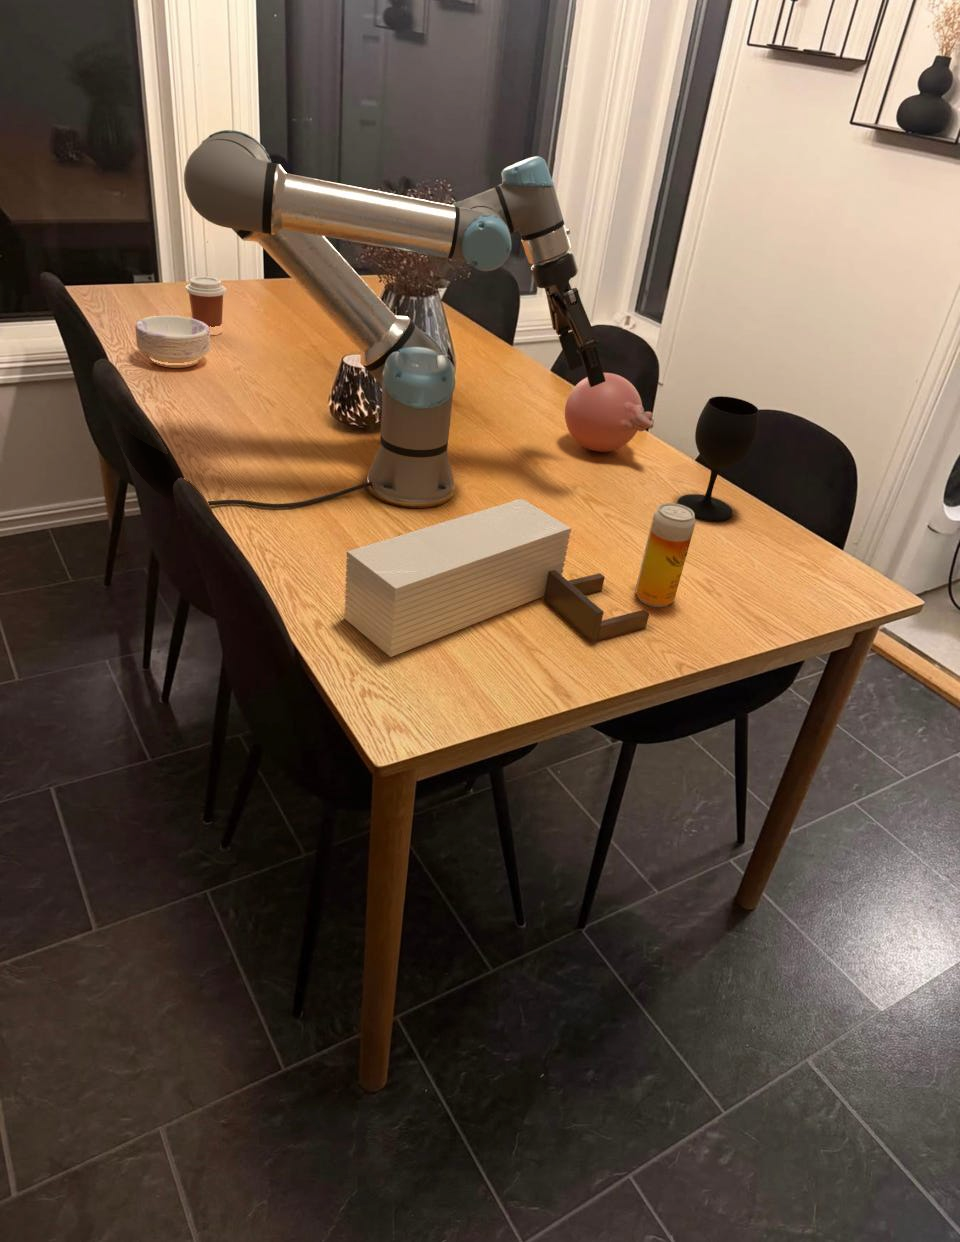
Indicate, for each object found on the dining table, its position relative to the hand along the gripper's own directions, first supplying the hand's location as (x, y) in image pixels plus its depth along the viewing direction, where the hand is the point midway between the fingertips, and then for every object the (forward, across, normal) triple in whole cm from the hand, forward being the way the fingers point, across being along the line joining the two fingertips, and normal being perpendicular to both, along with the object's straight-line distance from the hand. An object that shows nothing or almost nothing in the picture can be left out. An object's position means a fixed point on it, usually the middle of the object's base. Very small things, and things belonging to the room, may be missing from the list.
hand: (586, 375), depth 166 cm
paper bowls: (-22, +54, +74) cm, 94 cm away
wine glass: (+29, -11, -11) cm, 33 cm away
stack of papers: (+11, -42, +37) cm, 57 cm away
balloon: (+21, +13, -2) cm, 24 cm away
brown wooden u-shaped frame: (+20, -45, +18) cm, 52 cm away
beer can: (+24, -41, +9) cm, 48 cm away
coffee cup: (-22, +75, +68) cm, 104 cm away
